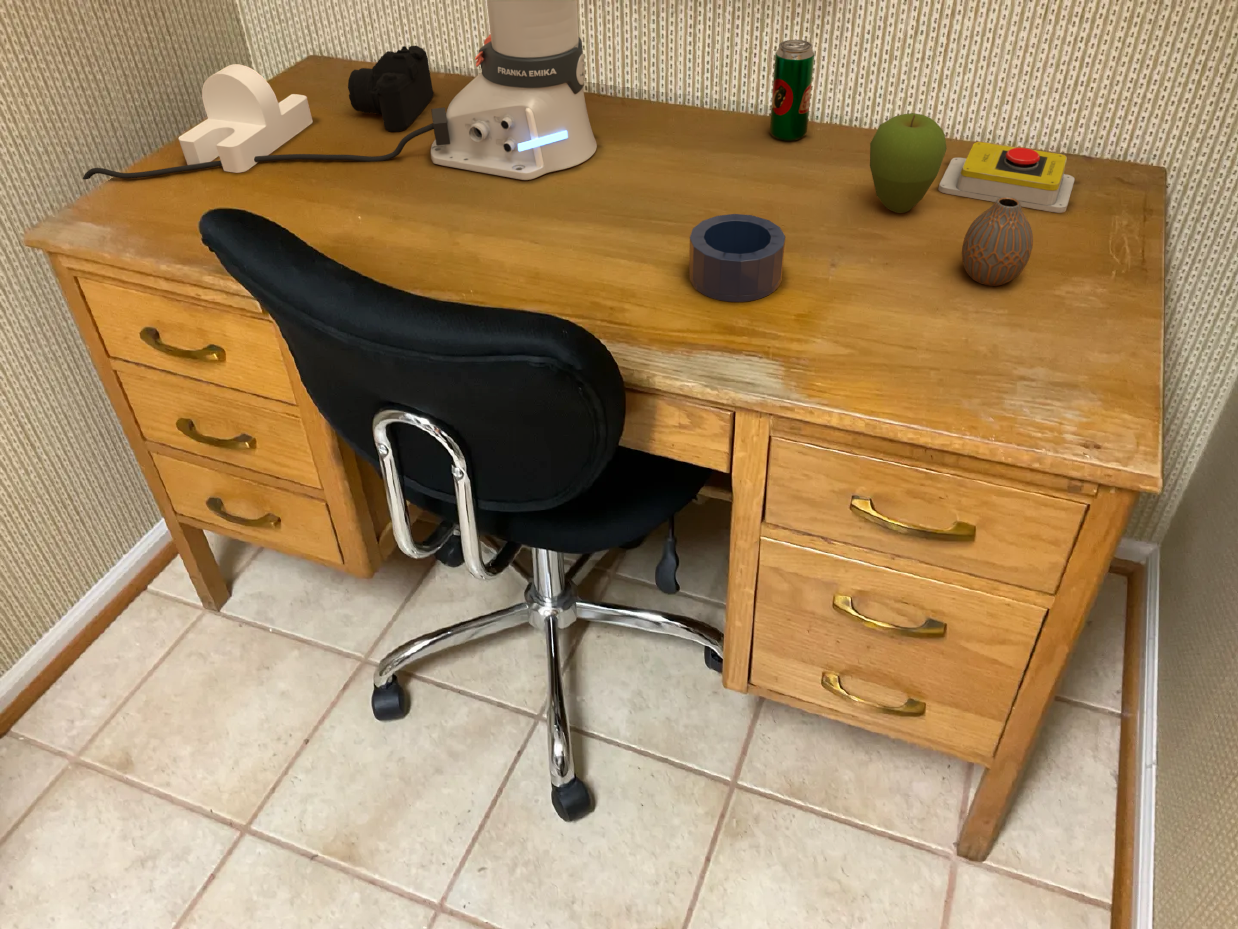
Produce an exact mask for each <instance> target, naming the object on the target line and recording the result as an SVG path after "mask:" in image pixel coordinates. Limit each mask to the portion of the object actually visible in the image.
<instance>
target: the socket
mask: <svg viewBox="0 0 1238 929" xmlns="http://www.w3.org/2000/svg"><path fill="white" fill-rule="evenodd" d="M785 246H786V235H785V233H784V231H783V230H782V228H781V227H780V226H779V225H777V224H776V223H775V222H773V221H771V220H769V219H766V218H763V217H759V216H756V215H753V214H743V213H728V214H721V215H720V214H719V215H716V216H713V217H709V218H706V219H704V220H701V221H700V222H699V223H698V224H696V225H695V226H694V227H693V228H692V230H691V232H690V235H689V247H688V248H689V249H688V251H689V253H688V254H689V255H688V258H689V259H688V272H689V281H690V284H691V285H692V287H693V288H694V289H695V290H696V291H697V292H698V293H699V294H702V295H704V296H706V297H708V298H710V299H714V300H718V301H722V302H728V303H730V302H731V303H745V302H753V301H756V300H757V301H758V300H760V299H764V298H765V297H768V296H770V295H771V294H772V293H774V292H775V291H776V290H777V289H778V288H779V286H780V285H781V282H782V274H783V268H784V257H785Z"/></svg>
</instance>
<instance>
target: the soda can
mask: <svg viewBox="0 0 1238 929" xmlns="http://www.w3.org/2000/svg"><path fill="white" fill-rule="evenodd" d="M813 47H814V46H813V44H812V43H811V42H809V41H807V40H803V39H787V40H784V41H781V42H779V44H778V48H777V49H776V51H775V54H774V56H775V57H774V68H773V79H772V80H773V81H772V94H771V105H770V118H769V121H770V122H769V133H770V134H771V135H772V137H773V138H774V139H776V140H779V141H782V142H794V141H799V140H801V139H802V138H803V137H804V136H805V135H807V132H808V125H809V116H810V115H809V114H810V104H811V95H812V86H813V75H814V65H815V56H816V54H815V51H814V50H813Z"/></svg>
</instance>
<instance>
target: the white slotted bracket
mask: <svg viewBox="0 0 1238 929" xmlns="http://www.w3.org/2000/svg"><path fill="white" fill-rule="evenodd" d="M201 99H202V103H203V107H204V111H205V114H206V116H207V119H204V120H203V121H201V122H200V123H198V124H197V125H195V126H194V127H192V128H191V129H189V130H187V131H186V132H184V133H183V134H180V136H179V137H178V142H179V144H180V148H181V151H182V153H183V156H184V159H185V162H186V165H192V164H199V163H206V162H213V161H215V160H216V159H217V158H219V161H220V160H221V163H222V166H221V167H222V169H223V172H228V173H229V172H230V173H237V174H239V173H244V172H247V171H249V170H250V169H252V167H254V166H256V165H257V164H258V163H259V162H255V161H254V158H255V157H256V156H267V155H271V154H272V153H274V152H275V151H276V150H277V149H279V148H280V147H281V146H283V145H285V144H287V142H289V141H290V140H291V139H293V138H294V137H296V136H297V135H298V134H300V133H301V132H302V131H304V130H305V129H306V128H308V127H309V126H310V125H313V117H312V113H311V109H310V105H309V104H310V103H309V101H308V96H306V95H303V94H296V93H291V94H290V95H288V96H287V97H286V98H284V99H282V100H281V101H279V100H278V99H277V96H276V94H275V91H274V90H273V88H272V87H271V85H270V83H269V82H268V81H267V80H266V79H265V78H264V76H263V75H261V74H260V73H259V72H257V70H255V69H253V68H251V67H249V66H248V65H243V64H240V63H236V64H235V63H233V64H229V65H228V66H227V65H226V66H225V67H223V68H222V69H221V70H219V71H216V72H215V73H213V74H211V75H210V76H208V77H207V78H206V80H205V81H204V82H203V84H202V88H201Z"/></svg>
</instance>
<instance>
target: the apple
mask: <svg viewBox="0 0 1238 929" xmlns="http://www.w3.org/2000/svg"><path fill="white" fill-rule="evenodd" d="M947 150H948V149H947V139H946V134H945V132H944V129H942V127H941V126H940V124H938V123H937V121H935V120H934V119H933V118H931V117H930V116H927V115H925V114H921V113H915V112H909V113H902V114H899V115H895V116H893V117H891V118H889V119H887V120H886V121H884V122H882V123H881V124H879V126H878V128H877V130H876V132H875V134H874V135H873V137H872V139H871V141H870V142H869V168H870V172H871V178H872V181H873V186H874V191H875V196H876V197H877V198H878V200H879V201H880V202H881V203H882V205H883V206H884V208H886V209H887V210H889V211H891V212H894V213H896V214H904V213H908V212H910V211H911V209H913V208H914V207H915V206H916V205H917V204H918V203H919V202H921V201H922V200H923V198H924V196H925V195H926V194H927V193H928V190H929V189H930V187H932V186H931V185H932V184H933V182H934V181H935V180H936V178H937V176H938V174H939V172H940V170H941V166H942V164H943V160H944V158H945V155H946V151H947Z"/></svg>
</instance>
